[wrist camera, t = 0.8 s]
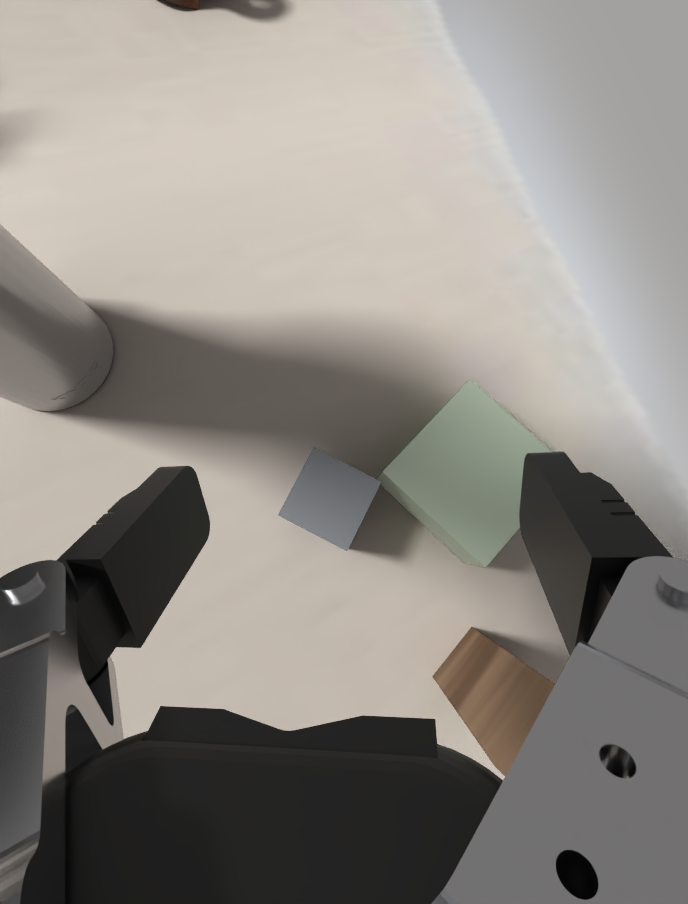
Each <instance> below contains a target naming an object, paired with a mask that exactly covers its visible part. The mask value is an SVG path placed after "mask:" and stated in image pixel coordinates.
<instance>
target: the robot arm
mask: <svg viewBox="0 0 688 904" xmlns="http://www.w3.org/2000/svg"><path fill="white" fill-rule="evenodd" d="M113 350H114V349H113V342H112V337H111V334H110V332H109V329H108V327H107V326H106V324H105V323H104V321H103V320H102V319H101V318H100V317H99V316H98V315H97V314H96V313H95V312H94V311H93V310H92V309H91V308H90V307H89V306H87V305H86V304H85V303H84V302H83V301H82V300H81V299H80V298H79V297H78V296H77V295H76V294H75V293H74V292H73V291H72V290H71V289H70V288H69V287H67V286H66V285H65V284H64V283H63V282H62V281H61V280H60V279H59V278H58V277H57V276H56V275H54V274H53V273H52V272H51V271H50V270H49V269H48V268H47V267H46V266H45V265H44V264H43V263H42V262H40V261H39V260H38V259H37V258H36V257H35V256H34V255H33V254H32V253H31V252H30V251H29V250H27V249H26V248H25V247H24V246H23V245H22V244H21V243H20V242H19V241H18V240H17V239H16V238H15V237H13V236H12V235H11V234H10V233H9V232H8V231H7V230H6V229H5V228H4V227H3V226H2V225H0V397H2V398H4V399H7V400H9V401H12V402H14V403H17V404H19V405H22V406H25V407H28V408H30V409H33V410H41V411H55V410H62V409H65V408H69V407H72V406H74V405H76V404H78V403H80V402H82V401H84V400H85V399H87V398H88V397H89V396H90V395H92V394H93V393H94V392H95V391H96V390H97V389H98V388H99V387H100V385H101V384H102V383H103V382H104V380H105V378H106V376H107V375H108V373H109V370H110V367H111V364H112V361H113ZM519 520H520V529H521V534H522V537H523V540H524V543H525V545H526V548H527V550H528V553H529V555H530V558H531V560H532V562H533V565H534V567H535V570H536V572H537V575H538V577H539V580H540V582H541V585H542V587H543V590H544V592H545V595H546V597H547V600H548V602H549V605H550V607H551V609H552V612H553V614H554V617H555V619H556V622H557V624H558V627H559V629H560V632H561V634H562V637H563V639H564V642H565V644H566V647H567V649H568V652H569V654H570V658H569V660H568V662H567V663H566V665H565V667H564V669H563V671H562V673H561V674H560V676H559V678H558V680H557V682H556V684H555V686H554V687H553V689H552V691H551V693H550V695H549V697H548V699H547V700H546V702H545V704H544V706H543V708H542V710H541V712H540V713H539V715H538V717H537V719H536V721H535V723H534V725H533V726H532V728H531V730H530V732H529V734H528V736H527V738H526V739H525V741H524V743H523V745H522V747H521V749H520V751H519V752H518V754H517V756H516V758H515V760H514V762H513V764H512V765H511V767H510V769H509V771H508V773H507V775H506V777H505V778H504V780H502V779H500V778H499V777H498V776H497V775H495V774H494V773H493V772H491V771H490V770H489V769H487V768H486V767H484V766H483V765H481V764H479V763H478V762H476V761H475V760H473V759H471V758H469V757H467V756H465V755H463V754H461V753H459V752H457V751H455V750H453V749H450V748H447V747H444V746H441V745H439V744H437V738H436V725H435V719H422V718H400V717H379V716H359V717H355V718H350V719H345V720H341V721H336V722H331V723H327V724H322V725H317V726H313V727H308V728H304V729H299V730H294V731H284V730H280V729H277V728H274V727H271V726H269V725H266V724H263V723H260V722H257V721H255V720H252V719H249V718H246V717H243V716H241V715H238V714H235V713H232V712H230V711H227V710H224V709H208V708H187V707H165V706H160V708H159V710H158V712H157V714H156V716H155V718H154V720H153V722H152V724H151V726H150V728H149V730H148V731H146V732H143V733H140V734H137V735H134V736H131V737H128V738H126V739H124V737H123V729H122V721H121V713H120V705H119V697H118V689H117V680H116V672H115V666H114V663H113V661H112V659H111V657H110V655H111V654H112V652H113V651H114V649H115V648H116V647H132V648H141V647H142V645H143V643H144V642H145V640H146V638H147V637H148V635H149V634H150V632H151V630H152V629H153V627H154V626H155V624H156V622H157V621H158V619H159V617H160V616H161V614H162V613H163V611H164V609H165V608H166V606H167V605H168V603H169V601H170V600H171V598H172V596H173V595H174V593H175V592H176V590H177V588H178V587H179V585H180V584H181V582H182V580H183V579H184V577H185V575H186V574H187V572H188V571H189V569H190V567H191V566H192V564H193V562H194V561H195V559H196V558H197V556H198V554H199V553H200V551H201V550H202V548H203V546H204V545H205V543H206V541H207V539H208V536H209V531H210V520H209V515H208V512H207V508H206V505H205V502H204V498H203V495H202V491H201V488H200V485H199V481H198V478H197V475H196V472H195V470H194V469H193V468H192V467H190V466H176V467H160V468H158V469H157V470H156V471H155V472H154V473H153V474H152V475H151V476H150V477H149V478H148V479H147V480H145V481H144V482H143V483H142V484H141V485H140V486H139V487H138V488H137V489H136V490H134V491H132V492H131V493H129V494H127V495H126V496H124V497H122V498H121V499H120V500H119V501H118V502H117V503H116V504H115V505H114V506H113V507H112V508H110V509H109V510H108V514H104V515H103V516H102V517H101V518H100V519H99V520H98V521H97V522H96V523H97V524H96V525H93V526H92V527H91V528H90V529H89V530H88V531H87V532H86V533H85V534H83V535H82V536H81V537H80V538H79V539H78V540H77V541H76V542H75V543H74V544H73V545H72V546H71V547H70V548H69V549H68V550H67V551H66V552H65V553H64V554H63V555H62V556H61V557H60V558H59V559H58V560H57V561H53V560H46V561H39V562H35V563H31V564H28V565H25V566H23V567H20V568H18V569H16V570H14V571H11V572H10V573H8V574H6V575H4V576H3V577H1V578H0V904H688V561H685V560H682V559H677V558H673V557H672V556H671V555H670V553H669V552H668V551H667V550H666V549H665V547H664V546H663V545H662V544H661V543H660V542H659V540H658V539H657V538H656V537H655V536H654V534H653V533H652V532H651V531H650V530H649V528H648V527H647V526H646V525H645V524H644V522H643V521H642V520H641V519H640V518H639V517H638V515H635V512H634V511H633V509H632V508H631V507H630V506H629V505H628V503H625V502H624V499H623V497H622V496H621V495H620V494H619V493H618V492H617V490H616V489H615V488H614V487H613V486H612V485H611V484H610V483H608V482H606V481H605V480H603V479H601V478H599V477H598V476H596V475H594V474H593V473H580V472H579V471H578V470H577V468H576V467H575V466H574V464H573V463H572V462H571V460H570V459H569V458H568V456H567V455H566V454H565V453H564V452H541V453H527V454H526V456H525V459H524V466H523V477H522V488H521V499H520V510H519Z"/></svg>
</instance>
